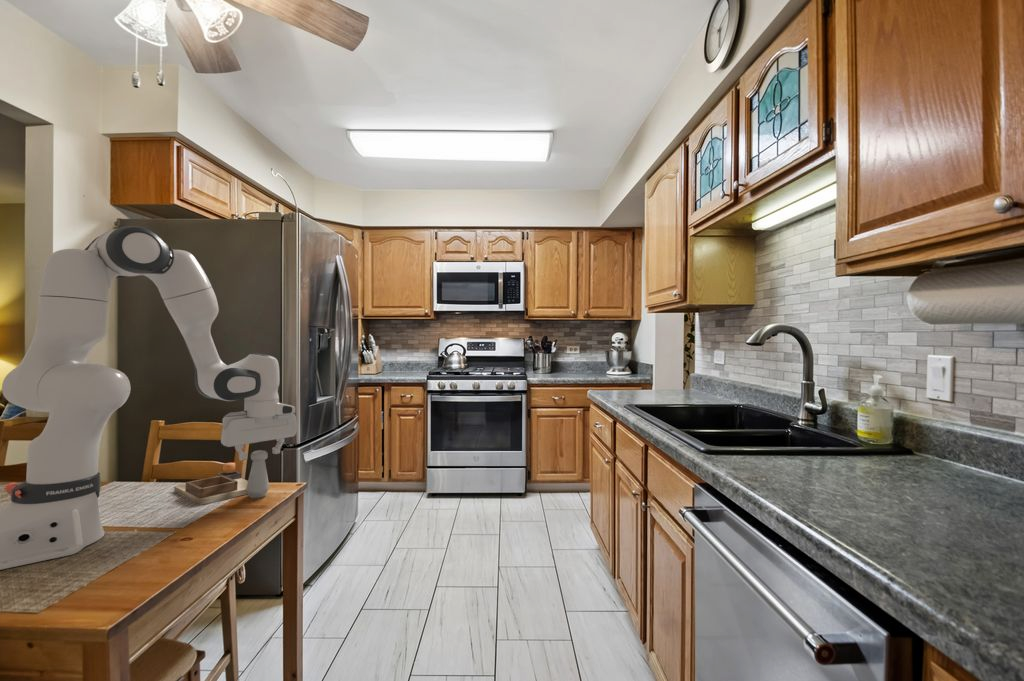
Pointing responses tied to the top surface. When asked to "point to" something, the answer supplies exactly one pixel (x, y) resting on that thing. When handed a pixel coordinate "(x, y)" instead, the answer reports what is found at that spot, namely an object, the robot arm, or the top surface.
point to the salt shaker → (258, 475)
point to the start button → (228, 467)
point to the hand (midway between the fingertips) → (260, 456)
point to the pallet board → (214, 488)
